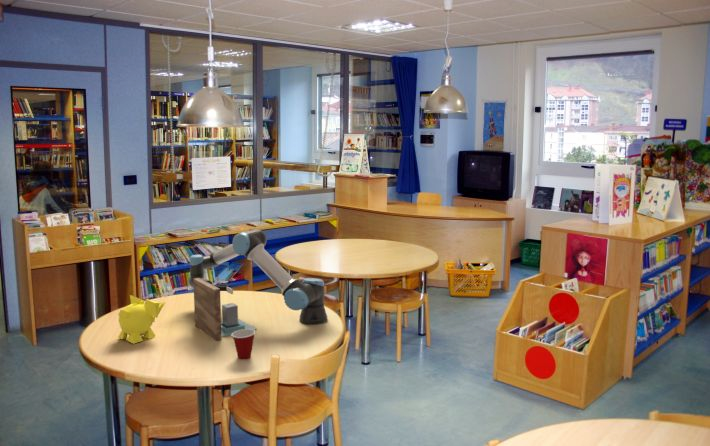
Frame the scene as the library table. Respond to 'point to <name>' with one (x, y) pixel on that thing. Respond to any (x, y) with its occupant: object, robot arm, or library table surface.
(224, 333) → the socket
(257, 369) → the library table surface
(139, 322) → the piggy bank
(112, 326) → the library table surface
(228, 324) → the bar
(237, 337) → the plastic cup
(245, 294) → the library table surface
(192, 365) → the library table surface
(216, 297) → the door panel
